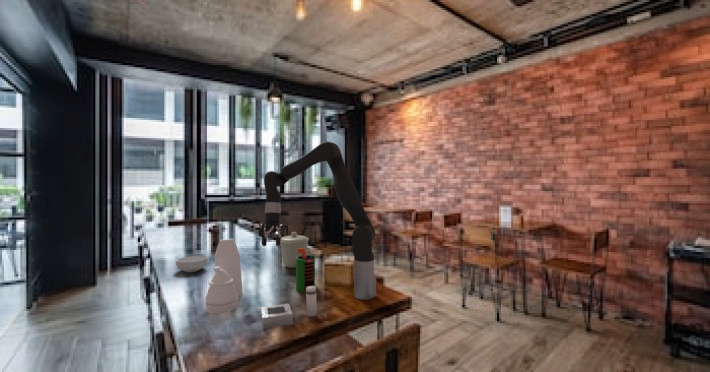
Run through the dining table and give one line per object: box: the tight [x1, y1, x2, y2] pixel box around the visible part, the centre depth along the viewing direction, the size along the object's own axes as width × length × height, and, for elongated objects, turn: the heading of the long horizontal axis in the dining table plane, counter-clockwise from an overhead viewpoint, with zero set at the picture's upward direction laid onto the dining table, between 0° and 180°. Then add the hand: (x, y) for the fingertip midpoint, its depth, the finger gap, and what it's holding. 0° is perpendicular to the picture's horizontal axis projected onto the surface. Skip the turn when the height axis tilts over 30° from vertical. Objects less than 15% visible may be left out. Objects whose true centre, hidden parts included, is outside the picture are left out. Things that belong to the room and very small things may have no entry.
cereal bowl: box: [175, 255, 208, 273], centre depth 206 cm, size 17×17×7 cm
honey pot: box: [204, 266, 239, 315], centre depth 148 cm, size 13×13×18 cm
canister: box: [280, 231, 310, 269], centre depth 213 cm, size 18×18×21 cm
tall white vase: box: [214, 238, 244, 297], centre depth 166 cm, size 12×12×26 cm
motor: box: [295, 248, 316, 293], centre depth 171 cm, size 10×9×20 cm
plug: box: [305, 285, 317, 318], centre depth 140 cm, size 4×4×11 cm
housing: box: [260, 303, 294, 329], centre depth 135 cm, size 11×11×4 cm
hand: (271, 246), depth 167 cm, fingers open, 8 cm apart
